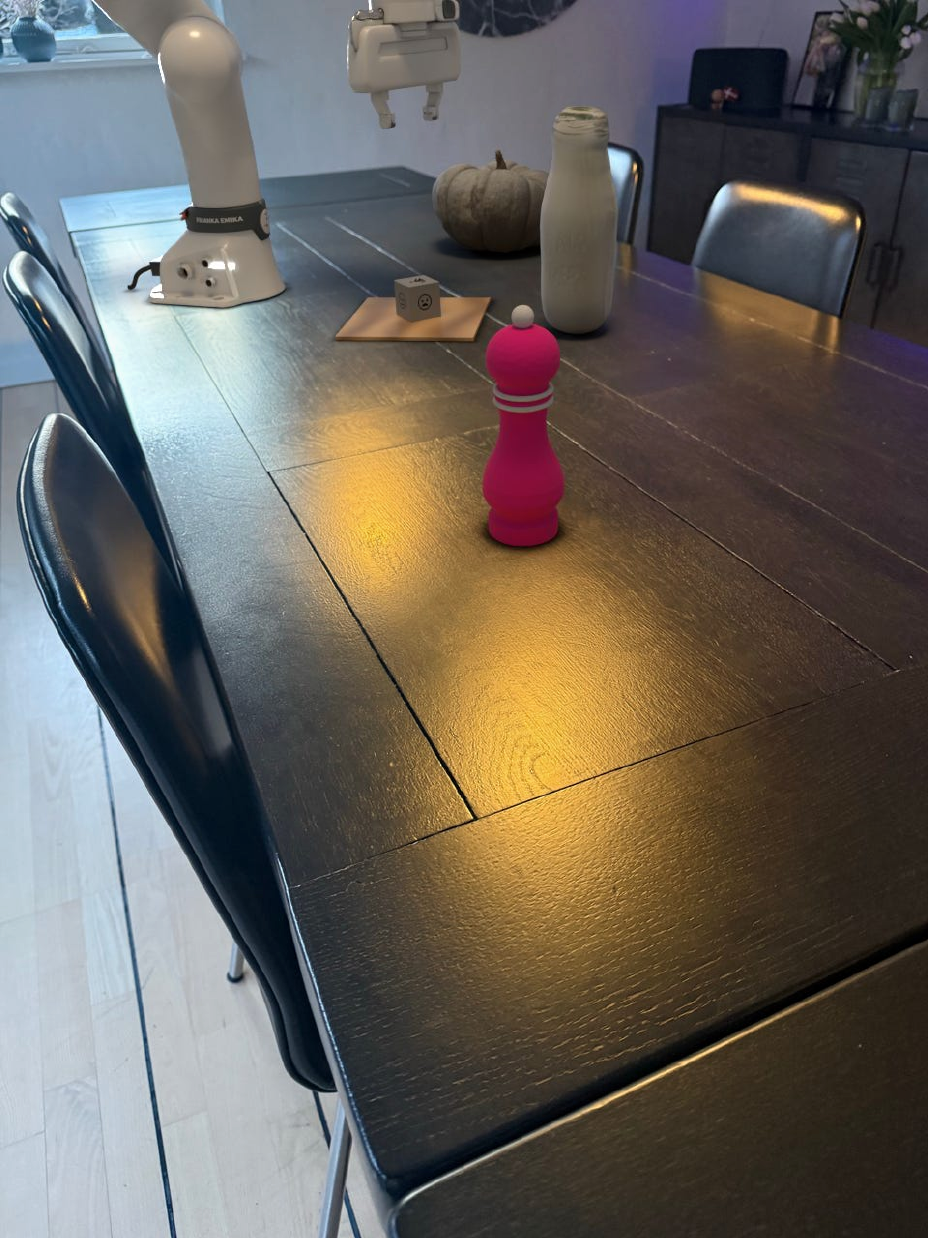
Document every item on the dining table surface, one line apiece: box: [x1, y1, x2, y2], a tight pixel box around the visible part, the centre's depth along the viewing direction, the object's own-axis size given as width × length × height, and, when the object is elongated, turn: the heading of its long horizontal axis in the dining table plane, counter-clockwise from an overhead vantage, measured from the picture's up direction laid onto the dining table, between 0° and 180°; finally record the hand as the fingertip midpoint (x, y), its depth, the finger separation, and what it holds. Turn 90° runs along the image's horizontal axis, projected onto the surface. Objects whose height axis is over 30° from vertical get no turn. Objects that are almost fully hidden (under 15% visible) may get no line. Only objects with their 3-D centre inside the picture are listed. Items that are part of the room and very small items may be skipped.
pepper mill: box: [481, 304, 565, 547], centre depth 76 cm, size 7×7×20 cm
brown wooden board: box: [335, 296, 492, 342], centre depth 135 cm, size 20×20×1 cm
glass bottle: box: [540, 105, 619, 335], centre depth 120 cm, size 10×10×28 cm
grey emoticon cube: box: [393, 274, 441, 322], centre depth 134 cm, size 5×5×5 cm
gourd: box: [431, 149, 550, 254], centre depth 168 cm, size 25×25×17 cm
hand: (410, 123), depth 128 cm, fingers open, 8 cm apart
